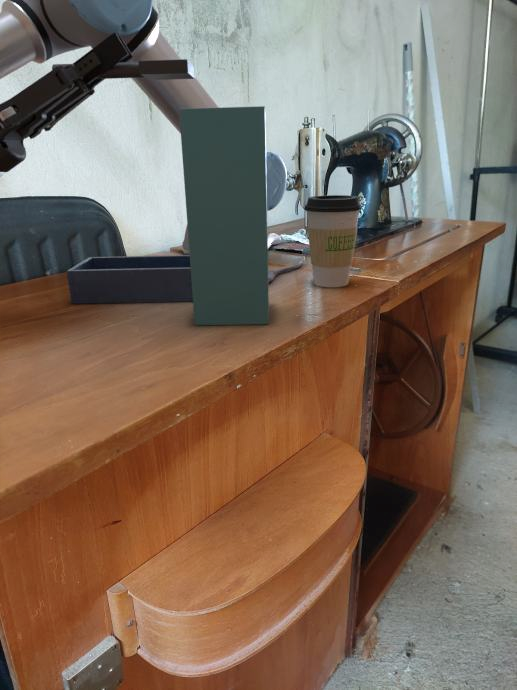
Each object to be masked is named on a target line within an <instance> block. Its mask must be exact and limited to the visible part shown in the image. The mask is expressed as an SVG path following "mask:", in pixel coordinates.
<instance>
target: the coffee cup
mask: <svg viewBox="0 0 517 690" xmlns="http://www.w3.org/2000/svg"><path fill="white" fill-rule="evenodd" d="M361 210H363V207H362V204H361V203H360V199H359V197H358V196H357V195H347V194H346V195H345V194H329V195H326V194H325V195H313V196H309V197H308V198H307V201H306V204H305V205H304V211H305V212H306V217H307V226H306V227H307V236H308V246H309V255H310V257H309V258H310V264H311V267H312V269H311V270H312V277H313V278H312V279H313V284H314V285H315V286H317V287H322V288H341V287H346V286H347V285H349V281H350V274H351V270H352V269H351V267H352V264H353V260H354V253H355V248H356V240H357V234H358V228H359V225H358V222H359V216H360V211H361Z"/></svg>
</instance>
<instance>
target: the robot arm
mask: <svg viewBox="0 0 517 690" xmlns="http://www.w3.org/2000/svg"><path fill="white" fill-rule="evenodd" d="M88 47H90V48H91V49H90V50H89V51H87V53H84V55H82V56H81V57H79V58H78V59H77V60H76V61H74V62H73V63H69V64H70V65H67V66H66V67H65V68H64V67H63V66H62V65H59V66H57V67H56V68H55V69H53V70H52V69H51V70H50V71H49V72H47V73H46V74H44V75H42V77H40V78H38V79H37V80H36V81H34V82H32V83H31V84H29V85H28V86H27V87H25V88H24V89H23V90H21V91H19V92H17V94H15V95H14V96H12V97H11V98H9V99H7V100H5V101H3V102H1V103H0V178H1V177H2V176H3V175H4V173H8V172H10V171H12V170H13V169H15V167H18V165H20V164H21V163H22V162H24V161H25V160H26V158H27V150H26V147H25V145H24V140H25V139H26V140H27V138H29V139H30V140H32V139H34V138H37V137H38V136H39V135H40V134H41V133H42V131H43V130H44V131H45V132H50V131H51V130H52V128H54V126H55V125H57V123H58V122H59V121H61V120H62V119H64V118H65V117H66V116H67V115H68V114H70V113H71V112H72V111H74V110H75V109H76V108H77V107H78V106H80V105H81V104H82V103H83V102H85V101H86V100H88V99H89V98H90V97H91V96H93V95H94V94H95V93H96V90H95V87H97V86H98V85H99V84H101V83H102V82H103V81H105V79H97V78H98V77H100V76H101V75H102V74H104V73H105V72H106V71H108V70H109V69H110V68H112V67H113V66H115V65H116V64H117V63H119V62H138V61H147V60H179V59H182V58H181V57H180V55H179V54H178V52H176V50H175V49H174V48H173V46H172V45H171V44H170V43H169V41H168V40H167V39H166V37H165V36H164V35H163V34H162V32H161V31H160V15H159V13H158V11H157V10H156V9H155V7H154V6H153V0H4V1H3V2H2V4H1V11H0V80H2V79H3V78H5V77H7V76H9V75H11V74H12V73H13V72H15V71H17V70H19V69H21V68H22V67H25V66H26V65H28V64H29V63H31V62H33V63H37V64H39V65H40V64H44V63H45V62H48V61H49V60H50V59H53V58H55V57H56V56H59V55H63V54H65V53H68V52H72V51H75V50H80V49H83V48H88ZM72 64H74V67H73V66H72ZM131 80H132V81H133V82H134V84H136V85H137V86H138V88H139V89H140V90H141V91H142V92H143V93H144V95H146V96H147V98H148V99H149V100H150V101H151V102H152V103H153V105H155V106H156V108H157V109H158V110H159V111H160V112H161V113H162V114H163V116H164V117H165V118H166V119H167V121H169V123H170V124H171V125H172V126H173V127H174V128H175V129H176V130H177V131H178V132H179V134H180V135H181V130H180V116H179V109H188V108H220V106H218V104H217V103H216V102H215V100H214V99H213V98H212V96H211V95H210V94H209V93H208V91H207V90H206V89H205V88H204V86H203V85H202V83H200V81H199V80H198V79H197V77H196V76H195V75H194V79H171V80H149V79H147V78H131ZM287 179H288V172H287V168H286V164H285V162H284V160H283V159H282V158H281V156H279V154H276V153H274V152H271V151H266V180H267V212H269V211H272V210H273V209H275V208H276V207H278V205H279V204H280V202H281V201H282V199H283V197H284V195H285V193H286V189H287V185H288V184H287ZM181 250H182V254H183V255H190V252H189V239H188V225H187V224H186V227H185V232H184V238H183V241H182V246H181Z"/></svg>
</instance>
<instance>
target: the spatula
mask: <svg viewBox="0 0 517 690" xmlns="http://www.w3.org/2000/svg"><path fill="white" fill-rule="evenodd" d="M278 240H280V241H278ZM274 241H275V242H274ZM281 241H282V238H281V236H280V235H279V234H277V233H274V232H272V233H269V234H268V249H269V248H270V247H271V246H277V245H278V244H280V243H281ZM272 242H273V243H272ZM271 243H272V244H271ZM276 244H277V245H276Z"/></svg>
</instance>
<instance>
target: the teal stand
mask: <svg viewBox="0 0 517 690" xmlns="http://www.w3.org/2000/svg"><path fill="white" fill-rule="evenodd" d="M179 116H180V130H181V134H180V141H181V143H180V144H181V154H182V168H183V169H182V170H183V181H184V193H185V194H184V196H185V197H184V198H185V210H186V226H187V225H188V239H189V252H190V266H191V280H192V293H193V301H192V305H193V319H194V326H243V325H244V326H245V325H246V326H247V325H250V326H251V325H270V293H269V292H270V291H269V283H268V271H269V248H268V235H269V234H268V211H267V180H266V152H267V135H266V132H267V131H266V106H265V105H263V106H262V105H261V106H260V105H259V106H257V105H256V106H227V107H226V106H224V107H219V108H188V109H179Z"/></svg>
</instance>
